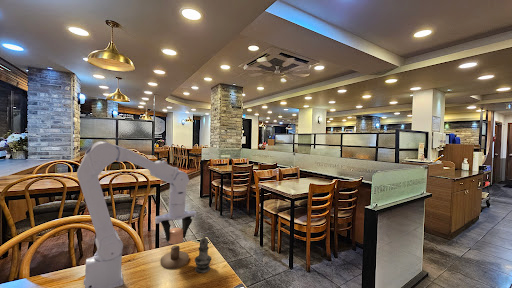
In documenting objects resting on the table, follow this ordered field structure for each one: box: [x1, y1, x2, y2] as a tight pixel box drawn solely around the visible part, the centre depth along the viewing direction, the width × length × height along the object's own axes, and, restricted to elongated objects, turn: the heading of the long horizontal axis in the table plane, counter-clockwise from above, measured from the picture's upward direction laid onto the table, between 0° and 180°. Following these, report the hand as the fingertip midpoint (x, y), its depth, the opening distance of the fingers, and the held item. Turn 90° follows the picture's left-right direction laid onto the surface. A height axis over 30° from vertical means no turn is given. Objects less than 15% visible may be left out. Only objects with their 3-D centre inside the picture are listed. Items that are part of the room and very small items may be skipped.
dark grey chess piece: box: [194, 235, 212, 274], centre depth 78 cm, size 6×6×12 cm
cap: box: [167, 227, 184, 245], centre depth 82 cm, size 5×5×4 cm
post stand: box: [159, 245, 190, 270], centre depth 82 cm, size 10×10×5 cm
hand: (175, 238), depth 82 cm, fingers closed on cap, 5 cm apart
